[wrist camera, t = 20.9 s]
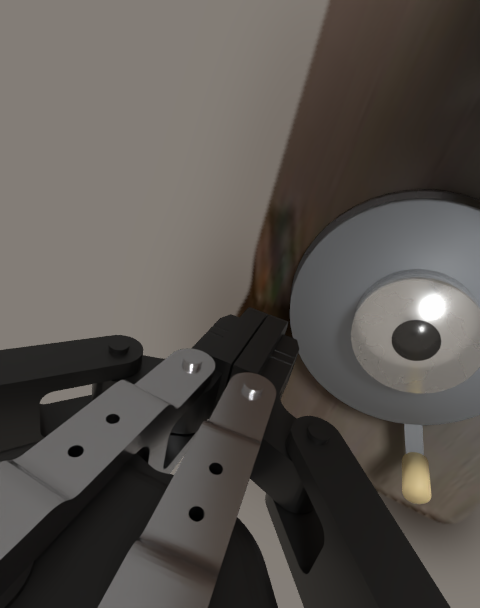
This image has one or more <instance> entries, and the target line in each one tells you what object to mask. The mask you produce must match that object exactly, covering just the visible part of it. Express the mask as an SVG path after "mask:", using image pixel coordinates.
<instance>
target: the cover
mask: <svg viewBox="0 0 480 608" xmlns="http://www.w3.org/2000/svg"><path fill="white" fill-rule="evenodd" d="M351 342H352V348H353V351H354V354H355V356H356V358H357V360H358V362H359V363H360V365H361V366H362V367H363V368H364V370H365V371H366V372H367V373H368V374H369V375H370V376H372V377H373V378H374V379H376V380H377V381H379V382H380V383H382V384H384V385H386V386H388V387H390V388H393V389H396V390H399V391H403V392H408V393H425V394H426V393H435V392H440V391H444V390H447V389H450V388H452V387H455V386H457V385H459V384H461V383H462V382H464V381H465V380H467V379H468V378H469V377H471V376H472V375H473V374H474V373H475V372H476V371H477V370H478V368H479V367H480V307H479V305H478V303H477V301H476V299H475V298H474V296H473V295H472V293H471V292H470V291H469V290H468V289H467V288H466V287H465V286H464V285H463V284H462V283H460V282H459V281H457V280H456V279H454V278H452V277H450V276H448V275H446V274H443V273H441V272H437V271H433V270H426V269H410V270H403V271H399V272H395V273H392V274H389V275H387V276H385V277H383V278H381V279H380V280H378V281H377V282H375V283H374V284H373V285H372V286H371V287H369V288H368V290H367V291H366V292H365V293H364V294H363V296H362V297H361V299H360V301H359V303H358V305H357V308H356V312H355V316H354V320H353V324H352V330H351Z"/></svg>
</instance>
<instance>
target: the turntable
mask: <svg viewBox="0 0 480 608" xmlns="http://www.w3.org/2000/svg"><path fill="white" fill-rule="evenodd" d="M410 269H426V270H433V271H437V272H441V273H443V274H446V275H448V276H450V277H452V278H454V279H456V280H457V281H459V282H460V283H462V284H463V285H464V286H465V287H466V288H467V289H468V290H469V291H470V292H471V293H472V295H473V296H474V298H475V299H476V301H477V303H478V305H479V307H480V209H477V208H475V207H472V206H469V205H466V204H463V203H459V202H454V201H450V200H444V199H433V198H411V199H402V200H396V201H390V202H386V203H383V204H380V205H376V206H373V207H370V208H368V209H366V210H363V211H361V212H359V213H357V214H355V215H353V216H351V217H350V218H348V219H346V220H344V221H343V222H341V223H340V224H339V225H338V226H336V227H335V228H334V229H332V230H331V231H330V232H329V233H328V234H327V235H326V236H325V237H324V238H323V239H322V240H321V241H320V242H319V243H318V244H317V246H316V247H315V248H314V250H313V251H312V252H311V254H310V255H309V256H308V258H307V259H306V261H305V263H304V264H303V266H302V268H301V270H300V271H299V274H298V276H297V279H296V281H295V284H294V287H293V292H292V296H291V303H290V325H291V330H292V336H293V338H294V339H296V340H297V342H298V346H299V355H300V357H301V359H302V361H303V362H304V364H305V365H306V367H307V368H308V370H309V372H310V373H311V374H312V375H313V376H314V378H315V379H316V380H317V381H318V382H319V383H320V384H321V385H322V386H323V387H324V388H325V389H326V390H327V391H328V392H330V393H331V394H332V395H334V396H335V397H336V398H337V399H339V400H340V401H342V402H344V403H345V404H347V405H349V406H350V407H352V408H354V409H356V410H358V411H360V412H363V413H365V414H368V415H370V416H373V417H376V418H379V419H383V420H387V421H391V422H396V423H403V424H404V430H405V447H406V454H405V455H404V456H403V458H402V493H403V496H404V497H405V498H406V499H407V500H408V501H410V502H412V503H416V504H424V503H427V502H428V501H429V500H430V499H431V487H430V476H429V464H428V460H427V458H426V457H425V456H424V452H423V427H422V425H436V424H445V423H452V422H458V421H462V420H465V419H469V418H473V417H475V416H478V415H480V367H479V368H478V370H477V371H476V372H475V373H474V374H473V375H472V376H471V377H469V378H468V379H467V380H465V381H464V382H462V383H461V384H459V385H457V386H455V387H452V388H450V389H447V390H444V391H440V392H435V393H426V394H425V393H408V392H403V391H399V390H396V389H393V388H390V387H388V386H386V385H384V384H382V383H380V382H379V381H377V380H376V379H374V378H373V377H372V376H370V375H369V374H368V373H367V372H366V371H365V370H364V368H363V367H362V366H361V365H360V363H359V362H358V360H357V358H356V356H355V354H354V351H353V348H352V342H351V330H352V324H353V320H354V316H355V312H356V308H357V305H358V303H359V301H360V299H361V297H362V296H363V294H364V293H365V292H366V291H367V290H368V288H369V287H371V286H372V285H373V284H374V283H375V282H377V281H378V280H380V279H381V278H383V277H385V276H387V275H389V274H392V273H395V272H399V271H403V270H410Z"/></svg>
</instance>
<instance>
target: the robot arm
mask: <svg viewBox="0 0 480 608" xmlns="http://www.w3.org/2000/svg"><path fill="white" fill-rule="evenodd" d="M287 326H288V321H285V320H282V319H280V318H277V317H274V316H272V315H268V314H266V313H264V312H261V311H258V310H256V309H253V308H250V307H249V308H248V309H247V310H246V311H245V312H244V313H243V314H242V316H241V317H240V318H239V317H236V316H234V315H228V316H225V317H222V318H220V319H219V320H218V321H217V322H216V323H215V324H214V326H213V327H211V328H210V330H209V331H208V332H207V333H206V334H205V335H204V336H203V337H202V338H201V339H200V340H199V341H198V342H197V343H196V344H195V346H193V347H192V348H191V349H188V348H187V349H180V350H177V351H175V352H173V353H172V354H171V355H170V356H168V357H167V358H166V359H160V358H155V357H149V356H143V347H142V345H141V343H140V342H138V341H137V340H136V339H134V338H131V337H128V336H122V335H113V336H105V337H97V338H89V339H82V340H74V341H66V342H59V343H51V344H45V345H36V346H29V347H21V348H13V349H6V350H0V608H278V606H277V603H276V599H275V596H274V592H273V589H272V585H271V582H270V578H269V575H268V572H267V568H266V565H265V562H264V559H263V556H262V553H261V551H260V549H259V547H258V545H257V543H256V541H255V539H254V538H253V536H252V534H251V533H250V532H249V530H248V529H247V528H246V526H245V525H244V524H243V523H242V522H241V521H240V519H238V518H237V515H238V512H239V509H240V506H241V503H242V500H243V497H244V494H245V491H246V488H247V484H248V482H249V479H251V480H252V481H253V482H255V483H256V484H257V485H258V486H259V487H260V488H261V489H262V490H263V491H265V492H266V497H265V500H266V505H267V508H268V511H269V514H270V516H271V519H272V522H273V524H274V527H275V530H276V533H277V535H278V538H279V541H280V544H281V546H282V549H283V551H284V554H285V557H286V560H287V563H288V565H289V568H290V571H291V573H292V576H293V578H294V581H295V584H296V587H297V590H298V592H299V595H300V598H301V600H302V603H303V606H304V608H450V606H449V604H448V603H447V601H446V600H445V598H444V597H443V595H442V593H441V592H440V590H439V589H438V587H437V586H436V584H435V582H434V581H433V579H432V578H431V576H430V575H429V573H428V571H427V570H426V568H425V567H424V565H423V563H422V562H421V560H420V559H419V557H418V556H417V554H416V552H415V551H414V549H413V548H412V546H411V545H410V543H409V541H408V540H407V538H406V537H405V535H404V534H403V532H402V530H401V529H400V527H399V526H398V524H397V523H396V521H395V519H394V518H393V516H392V515H391V513H390V512H389V510H388V508H387V507H386V505H385V504H384V502H383V500H382V499H381V497H380V496H379V494H378V493H377V491H376V489H375V488H374V486H373V485H372V483H371V482H370V480H369V478H368V477H367V475H366V474H365V472H364V471H363V469H362V467H361V466H360V464H359V463H358V461H357V460H356V458H355V456H354V455H353V453H352V452H351V450H350V448H349V447H348V445H347V444H346V442H345V441H344V439H343V437H342V436H341V434H340V433H339V432H338V430H337V429H336V428H335V427H334V426H333V425H331V424H330V423H328V422H327V421H325V420H323V419H320V418H318V417H313V416H303V417H300V418H298V419H296V418H295V417H294V416H292V415H291V414H290V413H289V412H288V411H287V410H286V409H285V408H284V406H283V405H282V403H281V400H280V399H281V397H282V394H283V392H284V390H285V388H286V385H287V383H288V380H289V377H290V375H291V372H292V369H293V366H294V363H295V360H296V357H297V355H298V352H299V346H298V342H297V340H296V339H294V338H291V337H289V336H286V335H285V332H286V329H287ZM89 384H92V395H88V396H84V397H79V398H74V399H69V400H64V401H60V402H55V403H50V404H39V403H40V400H41V399H42V397H44V396H45V395H46V394H48V393H50V392H53V391H58V390H63V389H69V388H74V387H79V386H84V385H89ZM207 419H209V421H207ZM184 455H185V456H184ZM183 456H184V458H183ZM182 458H183V460H182V461H181V463H180V465H179V467H178V469H177V471H176V473H175V474H174V475H171V474H170V473H171V472H172V470H173V469H174V468H175V466H176V465H177V464H178V463H179V462H180V460H181V459H182Z"/></svg>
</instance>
